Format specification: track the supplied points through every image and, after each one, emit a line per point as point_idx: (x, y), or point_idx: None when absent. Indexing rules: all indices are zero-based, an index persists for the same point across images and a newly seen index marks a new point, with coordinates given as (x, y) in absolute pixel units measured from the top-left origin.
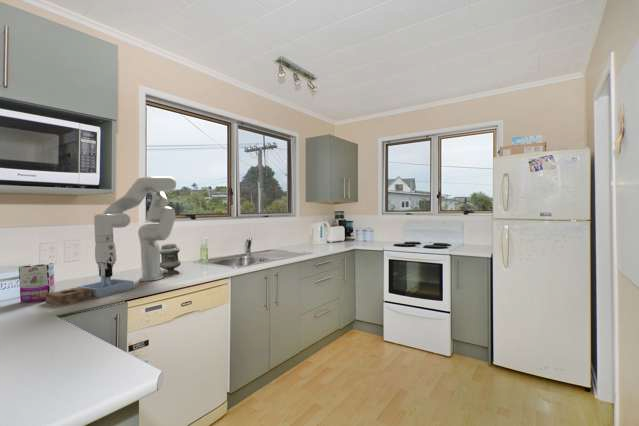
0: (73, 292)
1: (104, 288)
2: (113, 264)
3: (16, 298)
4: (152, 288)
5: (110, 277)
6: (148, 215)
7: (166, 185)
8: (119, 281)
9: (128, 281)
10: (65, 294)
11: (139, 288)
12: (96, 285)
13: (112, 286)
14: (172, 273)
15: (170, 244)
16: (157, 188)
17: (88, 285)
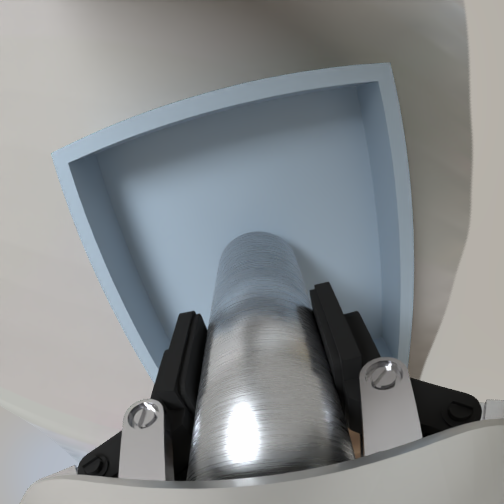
0: (351, 441)
1: (408, 324)
2: (489, 400)
3: (76, 456)
4: (461, 16)
5: (295, 283)
6: None
7: None
8: (163, 126)
9: (333, 86)
10: (356, 456)
11: (386, 44)
12: (139, 306)
13: (410, 272)
14: None
15: None
16: None
17: (159, 363)
